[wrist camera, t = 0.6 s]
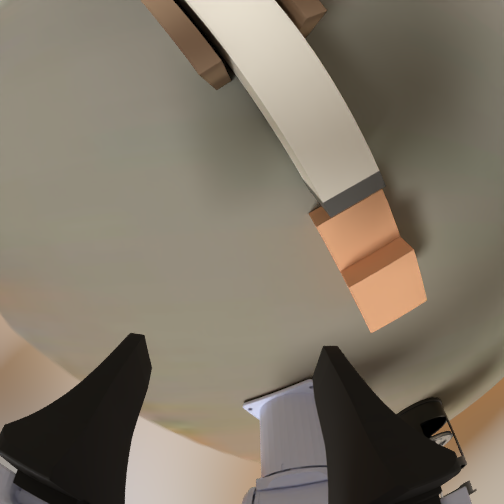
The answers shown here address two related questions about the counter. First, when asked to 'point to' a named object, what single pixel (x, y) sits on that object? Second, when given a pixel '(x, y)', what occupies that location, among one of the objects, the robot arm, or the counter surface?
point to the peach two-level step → (373, 259)
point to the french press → (433, 427)
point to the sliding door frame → (198, 49)
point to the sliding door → (293, 97)
